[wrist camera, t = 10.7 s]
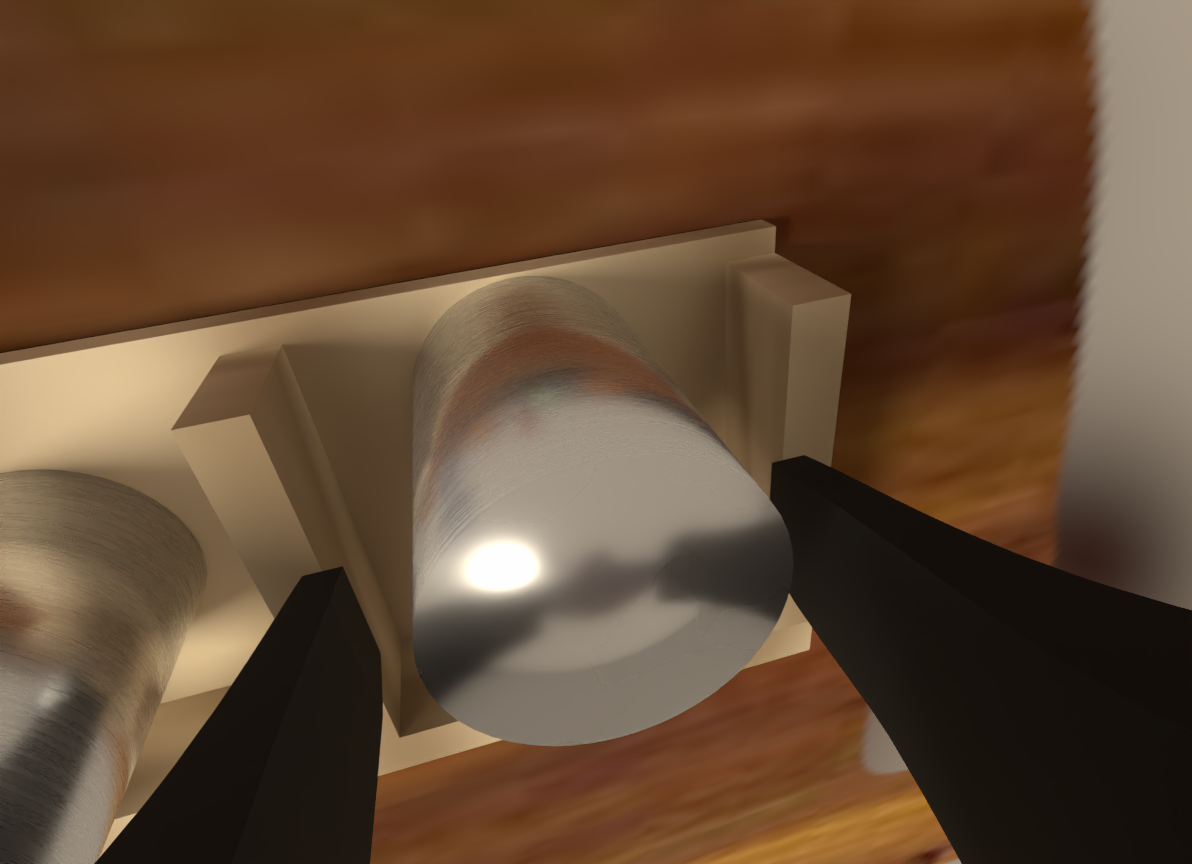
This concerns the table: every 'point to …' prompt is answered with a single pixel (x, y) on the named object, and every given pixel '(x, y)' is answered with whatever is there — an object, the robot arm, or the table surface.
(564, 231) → the table surface
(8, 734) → the seated billet
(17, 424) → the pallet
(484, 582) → the billet
